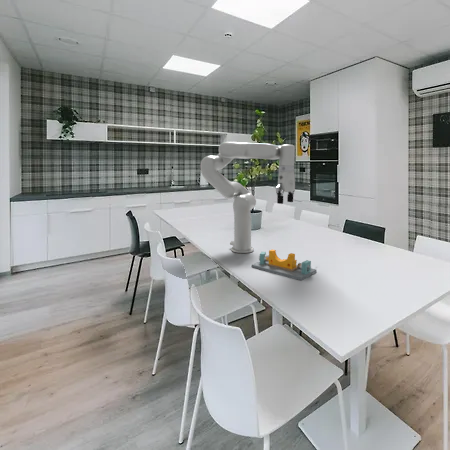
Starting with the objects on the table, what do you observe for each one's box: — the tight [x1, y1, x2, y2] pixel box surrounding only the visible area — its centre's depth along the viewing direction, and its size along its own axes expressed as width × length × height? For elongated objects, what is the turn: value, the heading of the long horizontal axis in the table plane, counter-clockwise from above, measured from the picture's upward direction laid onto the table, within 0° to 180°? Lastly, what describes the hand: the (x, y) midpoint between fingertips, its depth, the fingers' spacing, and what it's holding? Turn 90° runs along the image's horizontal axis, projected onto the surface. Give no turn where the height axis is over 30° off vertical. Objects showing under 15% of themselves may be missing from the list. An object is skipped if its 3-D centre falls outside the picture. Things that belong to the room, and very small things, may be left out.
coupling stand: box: [251, 251, 317, 281], centre depth 142 cm, size 26×14×6 cm, turn 48°
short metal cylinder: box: [258, 254, 269, 262], centre depth 148 cm, size 4×3×3 cm, turn 73°
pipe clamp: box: [268, 249, 298, 269], centre depth 141 cm, size 12×4×6 cm, turn 50°
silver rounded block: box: [296, 262, 310, 271], centre depth 135 cm, size 4×3×3 cm, turn 48°
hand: (285, 202), depth 161 cm, fingers open, 9 cm apart
